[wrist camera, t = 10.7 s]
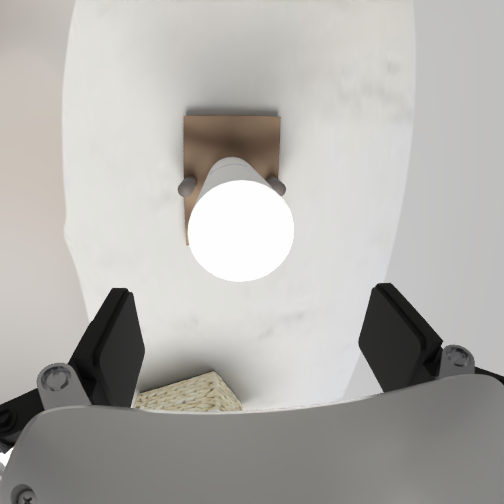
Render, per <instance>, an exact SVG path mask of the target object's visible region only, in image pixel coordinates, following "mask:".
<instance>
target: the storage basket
mask: <svg viewBox="0 0 504 504" xmlns="http://www.w3.org/2000/svg"><path fill="white" fill-rule="evenodd" d="M137 395H138V396H137V399H136V402H135V405H134V408H138V409H152V410H171V411H243V410H242V405H241V402H240V401H239V400H238V399H237V397H236V396H235V395H234V394H233V393H232V391H231V389H230V388H229V387H228V386H227V385H226V383H225V382H224V381H223V380H222V378H221V377H220V376H219V375H218V374H217V373H216V372H209V373H206V374H202V375H200V376H197V377H193V378H191V379H188V380H184V381H180V382H178V383H174V384H171V385H168V386H164V387H161V388H158V389H154V390H150V391H146V392H143V393H139V394H137Z"/></svg>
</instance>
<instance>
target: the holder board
mask: <svg viewBox="0 0 504 504" xmlns="http://www.w3.org/2000/svg"><path fill="white" fill-rule="evenodd" d="M279 144H280V117H273V116H250V115H197V116H184V180H183V181H182V183H181V184H180V185H179V187H178V193H179V194H180V195H181V196H183V197H184V203H185V228H186V245H189V240H188V223H189V219H190V216H191V213H192V210H193V208H194V206H195V203H196V201H197V199H198V196H199V194H200V192H201V189H202V187H203V185H204V183H205V180H206V178H207V176H208V174H209V171H210V169H211V168H212V166H213V165H214V164H215V163H216V162H218V161H219V160H221V159H223V158H227V157H237V158H240V159H243V160H244V161H246V162H247V163H248V164H250V165H251V166H252V167H253V168H254V169H255V170H256V171H257V173H258V174H259V175H260V176H261V177H262V178H263V179H264V180H265V181H266V182H267V183H268V184H269V185H270V186H271V187H272V188H273V189H274V190H275V191H276V192H277V193H278V194H279V195H280V196H283V195H284V194H285V191H286V187H285V185H284V184H283V183H282V182H281V181H279V180H278V168H279Z"/></svg>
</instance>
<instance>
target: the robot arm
mask: <svg viewBox="0 0 504 504" xmlns="http://www.w3.org/2000/svg"><path fill="white" fill-rule="evenodd" d="M442 342H443V340H442V339H441V338H440V337H439V336H438V334H437V333H436V332H435V331H434V330H433V329H432V327H431V326H430V325H429V324H428V323H427V322H426V321H425V319H424V318H423V317H422V316H421V315H420V314H419V313H418V312H417V311H416V309H415V308H414V307H413V306H412V305H411V304H410V303H409V302H408V301H407V300H406V298H405V297H404V296H403V295H402V294H401V293H400V292H399V291H398V290H397V289H396V288H395V287H394V286H393V285H392V284H391V283H379V284H377V285H376V286H375V287H374V288H373V289H372V291H371V296H370V300H369V304H368V307H367V311H366V315H365V319H364V322H363V326H362V330H361V333H360V337H359V342H358V343H359V347H360V349H361V351H362V353H363V355H364V356H365V358H366V360H367V362H368V364H369V366H370V367H371V369H372V371H373V373H374V375H375V377H376V379H377V380H378V382H379V384H380V386H381V388H382V390H383V392H384V393H380V394H376V395H371V396H366V397H361V398H355V399H350V400H343V401H337V402H331V403H324V404H317V405H309V406H300V407H291V408H280V409H267V410H250V411H171V410H152V409H138V408H130V407H131V403H132V399H133V395H134V391H135V387H136V384H137V380H138V376H139V373H140V369H141V365H142V362H143V358H144V354H145V348H144V343H143V339H142V334H141V330H140V326H139V321H138V316H137V311H136V307H135V301H134V296H133V293H132V292H129V291H128V289H127V288H112V289H111V291H110V293H109V294H108V296H107V298H106V299H105V301H104V303H103V304H102V306H101V308H100V309H99V311H98V313H97V314H96V316H95V318H94V320H93V321H91V323H90V324H89V326H88V328H87V330H86V331H85V333H84V335H83V336H82V338H81V340H80V342H79V344H78V346H77V347H76V349H75V351H74V353H73V355H72V357H71V359H70V361H69V362H68V364H65V363H55V364H51V365H49V366H47V367H45V368H44V369H43V370H42V371H41V372H40V374H39V375H38V377H37V387H38V388H36V389H34V390H32V391H30V392H28V393H25V394H23V395H21V396H19V397H17V398H14V399H12V400H10V401H8V402H5V403H3V404H1V405H0V504H504V377H503V376H500V375H498V374H495V373H492V372H489V371H486V370H483V369H480V368H478V367H475V361H474V357H473V356H472V354H471V353H470V352H469V351H468V350H467V349H465V348H464V347H461V346H458V345H449V346H446V347H445V348H444V349H442V347H441V345H442Z"/></svg>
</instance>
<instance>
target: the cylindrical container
mask: <svg viewBox="0 0 504 504" xmlns="http://www.w3.org/2000/svg"><path fill="white" fill-rule="evenodd" d="M293 237H294V222H293V218H292V214H291V212H290V210H289V207H288V205H287V204H286V203H285V201H284V200H283V198H282V197H281V196H280V195H279V194H278V193H277V192H276V191H275V190H274V189H273V188H272V187H271V186H270V185H269V184H268V183H267V182H266V181H265V180H264V179H263V178H262V177H261V176H260V175H259V174H258V173H257V171H256V170H255V169H254V168H253V167H252V166H251V165H250V164H248V163H247V162H246V161H244V160H243V159H240V158H237V157H227V158H223V159H221V160H219V161H218V162H216V163H215V164H214V165H213V166H212V168H211V169H210V171H209V174H208V176H207V178H206V180H205V183H204V185H203V187H202V189H201V192H200V194H199V196H198V199H197V201H196V203H195V206H194V208H193V210H192V213H191V216H190V219H189V223H188V240H189V245H190V248H191V250H192V253H193V255H194V256H195V258H196V260H197V261H198V262H199V263H200V264H201V266H202V267H203V268H205V269H206V270H207V271H208V272H210V273H211V274H213V275H215V276H217V277H219V278H222V279H225V280H229V281H238V282H241V281H251V280H254V279H258V278H261V277H263V276H265V275H267V274H269V273H270V272H272V271H273V270H275V269H276V268H277V267H278V266H279V265H280V264H281V263H282V262H283V260H284V259H285V257H286V256H287V255H288V253H289V250H290V248H291V246H292V242H293Z"/></svg>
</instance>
